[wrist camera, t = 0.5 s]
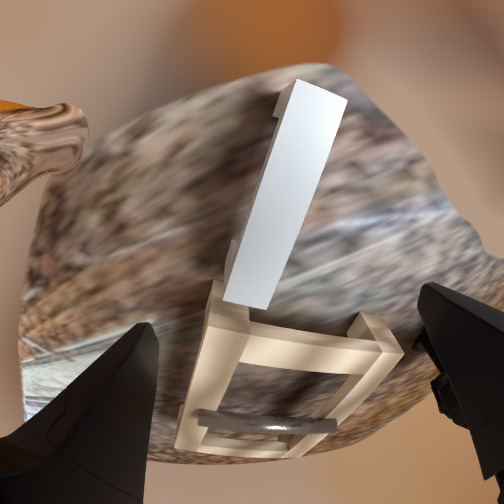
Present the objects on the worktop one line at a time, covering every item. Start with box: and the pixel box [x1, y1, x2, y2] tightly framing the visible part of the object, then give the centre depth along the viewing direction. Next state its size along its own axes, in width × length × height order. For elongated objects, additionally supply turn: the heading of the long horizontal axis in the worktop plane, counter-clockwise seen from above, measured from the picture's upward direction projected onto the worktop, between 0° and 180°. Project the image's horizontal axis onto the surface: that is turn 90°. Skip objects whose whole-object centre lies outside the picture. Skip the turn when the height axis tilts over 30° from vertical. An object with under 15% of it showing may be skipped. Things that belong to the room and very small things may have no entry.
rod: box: [197, 409, 338, 434], centre depth 24 cm, size 15×2×2 cm, turn 72°
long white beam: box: [223, 79, 348, 310], centre depth 17 cm, size 3×14×6 cm, turn 162°
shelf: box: [174, 280, 404, 458], centre depth 27 cm, size 18×24×6 cm
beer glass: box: [0, 100, 89, 207], centre depth 10 cm, size 7×7×15 cm
